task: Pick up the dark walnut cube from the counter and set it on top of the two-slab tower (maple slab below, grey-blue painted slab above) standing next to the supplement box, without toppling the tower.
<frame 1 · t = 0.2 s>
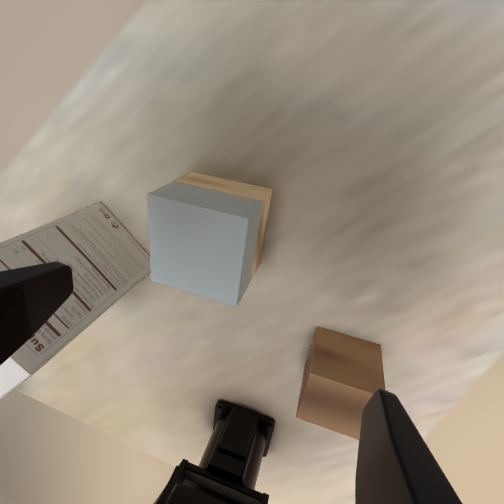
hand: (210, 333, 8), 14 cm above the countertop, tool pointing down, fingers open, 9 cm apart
walnut cube: (339, 356, 25), on the countertop
tower base: (229, 218, 23), on the countertop, touching tower mid
supplement box: (112, 252, 28), on the countertop
tower mid: (214, 233, 20), point 3 cm above the countertop, touching tower base
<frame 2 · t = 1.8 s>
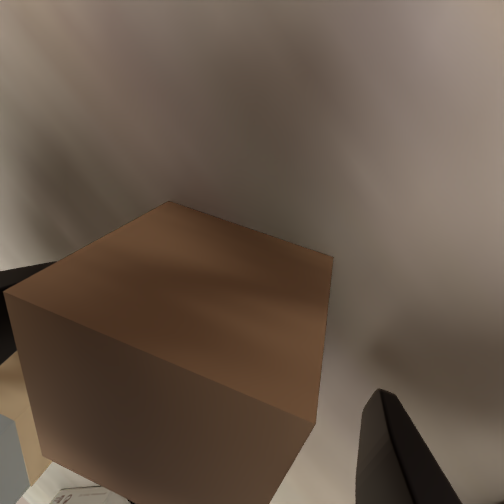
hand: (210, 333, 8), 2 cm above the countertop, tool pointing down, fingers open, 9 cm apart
walnut cube: (231, 294, 10), on the countertop
tower base: (29, 379, 17), on the countertop, touching tower mid
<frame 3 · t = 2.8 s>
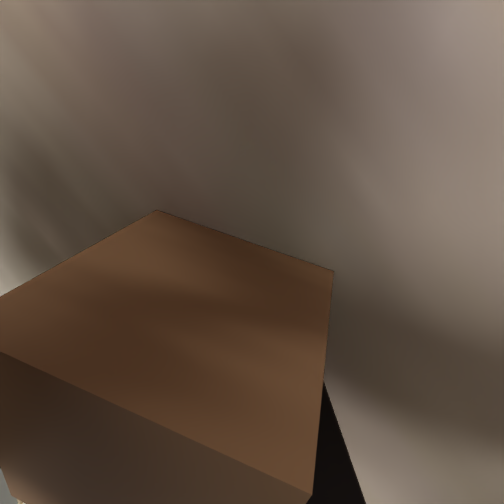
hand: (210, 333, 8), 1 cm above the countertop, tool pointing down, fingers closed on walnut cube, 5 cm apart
walnut cube: (224, 310, 9), on the countertop, touching gripper
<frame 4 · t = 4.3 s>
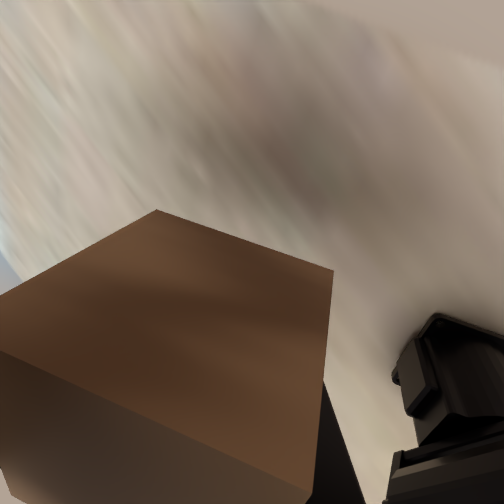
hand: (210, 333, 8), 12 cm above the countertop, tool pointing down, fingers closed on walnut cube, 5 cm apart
walnut cube: (224, 309, 9), point 11 cm above the countertop, touching gripper
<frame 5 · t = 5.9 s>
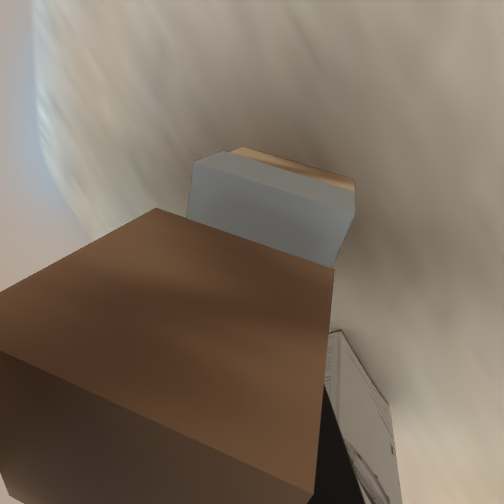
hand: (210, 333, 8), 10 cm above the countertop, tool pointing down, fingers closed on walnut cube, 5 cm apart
walnut cube: (224, 309, 9), point 9 cm above the countertop, touching gripper
tower base: (282, 213, 17), on the countertop, touching tower mid
supplement box: (318, 377, 22), on the countertop
tower mid: (269, 230, 15), point 3 cm above the countertop, touching tower base
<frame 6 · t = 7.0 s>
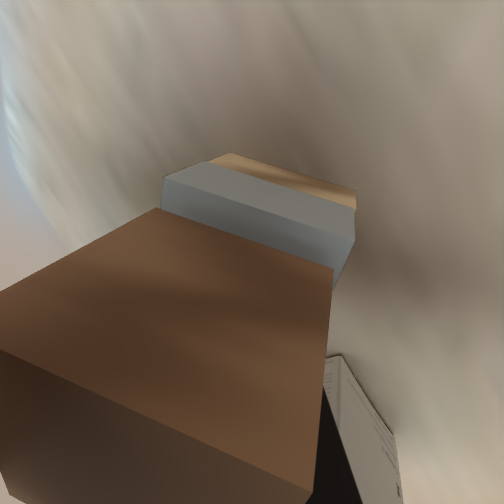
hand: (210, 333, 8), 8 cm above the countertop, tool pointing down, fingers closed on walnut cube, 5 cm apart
walnut cube: (224, 308, 9), point 7 cm above the countertop, touching gripper
tower base: (274, 226, 15), on the countertop, touching tower mid
supplement box: (317, 402, 20), on the countertop
tower mid: (257, 250, 13), point 3 cm above the countertop, touching tower base
when the fingers open (8 cm above the countertop, at t = 7.1 s): walnut cube drops 1 cm, resting on tower mid.
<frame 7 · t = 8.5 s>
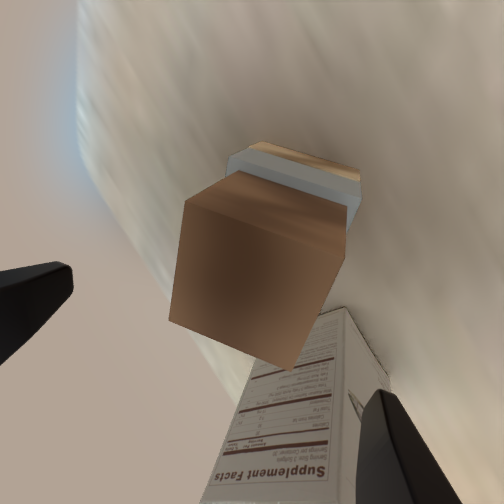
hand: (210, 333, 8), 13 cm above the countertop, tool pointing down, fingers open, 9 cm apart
walnut cube: (275, 237, 14), point 6 cm above the countertop, touching tower mid
tower base: (295, 200, 19), on the countertop, touching tower mid
supplement box: (325, 351, 24), on the countertop
tower mid: (286, 216, 17), point 3 cm above the countertop, touching tower base, walnut cube
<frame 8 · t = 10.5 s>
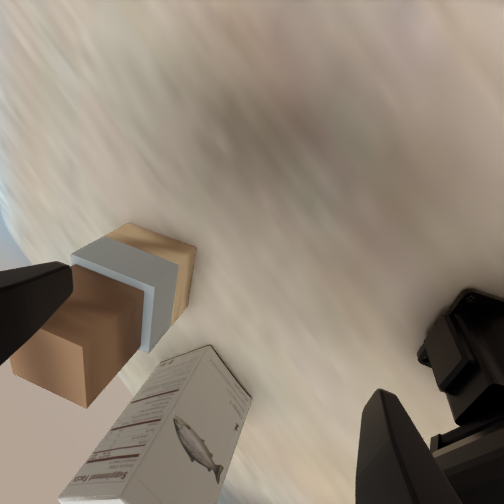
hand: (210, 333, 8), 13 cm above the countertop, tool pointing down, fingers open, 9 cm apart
walnut cube: (109, 306, 20), point 6 cm above the countertop
tower base: (160, 264, 25), on the countertop, touching tower mid
supplement box: (205, 377, 30), on the countertop
tower mid: (138, 283, 23), point 3 cm above the countertop, touching tower base
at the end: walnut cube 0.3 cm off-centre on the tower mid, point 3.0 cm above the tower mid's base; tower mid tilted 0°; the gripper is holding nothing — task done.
